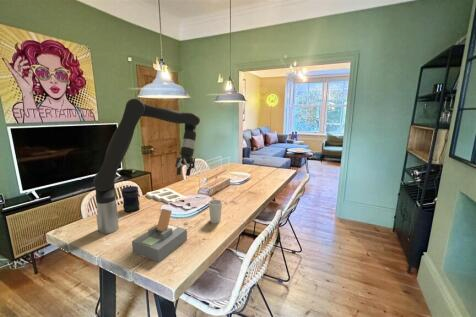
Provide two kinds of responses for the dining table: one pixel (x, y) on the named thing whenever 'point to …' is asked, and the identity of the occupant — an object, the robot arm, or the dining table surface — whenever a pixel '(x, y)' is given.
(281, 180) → the dining table surface
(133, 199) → the storage jar
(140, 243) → the box
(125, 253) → the dining table surface
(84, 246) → the dining table surface
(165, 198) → the holder
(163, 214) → the handle
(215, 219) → the cup
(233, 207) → the dining table surface
